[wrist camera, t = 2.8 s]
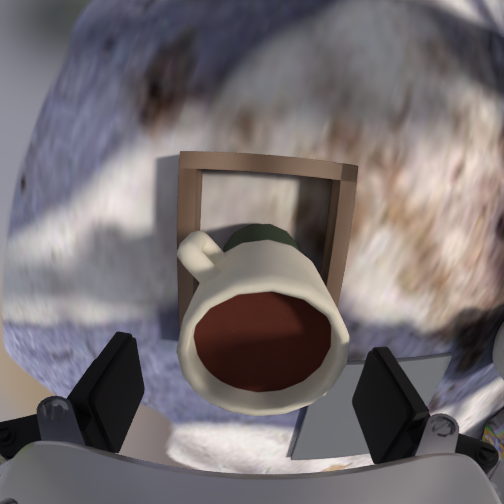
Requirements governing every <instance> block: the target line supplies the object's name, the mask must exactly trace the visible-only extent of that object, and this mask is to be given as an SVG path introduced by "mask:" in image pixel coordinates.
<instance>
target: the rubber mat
mask: <svg viewBox="0 0 504 504" xmlns="http://www.w3.org/2000/svg"><path fill="white" fill-rule="evenodd" d="M452 356H453V355H452V354H451V353H445V354H438V355H430V356H421V357H411V358H399V359H396V360H397V362H398V363H399V365H400V366H401V368H402V369H403V371H404V372H405V374H406V375H407V377H408V378H409V380H410V381H411V383H412V384H413V386H414V387H415V389H416V390H417V392H418V393H419V395H420V397H421V398H422V400H423V401H424V403H425V405H426V406H427V405H428V403H429V402H430V400H431V398H432V396H433V394H434V393H435V391H436V389H437V387H438V385H439V383H440V381H441V379H442V377H443V375H444V373H445V371H446V369H447V367H448V365H449V363H450V361H451V359H452ZM364 364H365V361H347V364H346V366H345V368H344V369H343V371H342V373H341V375H340V376H339V378H338V380H337V381H336V383H335V385H334V386H333V387H332V388H331V389H330V390H329V391H327V393H326V394H325V395H324V396H321V397H320V398H319V399H317V400H316V401H315V402H313V403H312V404H310V405H307V408H306V411H305V414H304V418H303V421H302V424H301V428H300V431H299V434H298V437H297V440H296V443H295V446H294V449H293V452H292V455H291V460H310V459H325V458H337V457H346V456H354V455H361V454H368V453H370V452H369V449H368V446H367V444H366V441H365V438H364V435H363V433H362V430H361V427H360V424H359V422H358V419H357V416H356V414H355V411H354V408H353V405H352V397H353V395H354V392H355V389H356V387H357V384H358V381H359V378H360V376H361V373H362V370H363V367H364Z"/></svg>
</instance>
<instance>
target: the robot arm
mask: <svg viewBox="0 0 504 504" xmlns="http://www.w3.org/2000/svg"><path fill="white" fill-rule="evenodd" d="M144 390H145V388H144V382H143V377H142V372H141V366H140V361H139V355H138V349H137V342H136V339H135V338H133V337H132V335H131V334H130V333H124V332H116V333H115V335H114V336H113V337H112V339H111V340H110V341H109V343H108V344H107V345H106V347H105V348H104V349H103V351H102V352H101V353H100V355H99V356H98V357H97V359H95V360H94V361H93V362H92V364H91V365H90V366H89V368H88V369H87V370H86V372H85V373H84V375H83V376H82V377H81V379H80V380H79V382H78V383H77V384H76V386H75V387H74V389H73V390H72V391H71V393H70V394H69V396H68V397H67V399H66V398H64V397H61V396H50V397H47V398H45V399H44V400H42V401H41V402H40V403H39V405H38V407H37V414H34V415H30V416H26V417H22V418H18V419H13V420H9V421H3V422H0V504H504V459H503V458H502V459H501V460H499V454H498V451H497V450H496V448H495V447H494V446H493V445H491V444H489V443H486V442H483V441H480V440H477V439H474V438H471V437H468V436H465V435H463V434H460V433H459V426H458V423H457V422H456V420H455V419H454V418H452V417H451V416H449V415H447V414H442V413H440V414H434V415H432V416H430V414H429V409H428V408H427V406H426V405H425V403H424V401H423V400H422V398H421V397H420V395H419V393H418V392H417V390H416V389H415V387H414V386H413V384H412V383H411V381H410V380H409V378H408V377H407V375H406V374H405V372H404V371H403V369H402V368H401V366H400V365H399V363H398V362H397V360H396V359H395V357H394V356H393V354H392V353H391V351H390V350H389V348H388V347H375V348H373V349H372V351H369V353H368V355H367V358H366V361H365V364H364V367H363V370H362V373H361V376H360V378H359V381H358V384H357V387H356V389H355V392H354V395H353V397H352V405H353V408H354V411H355V414H356V416H357V419H358V422H359V424H360V427H361V430H362V433H363V435H364V438H365V441H366V444H367V446H368V449H369V452H370V455H371V458H372V460H373V463H374V464H375V465H369V466H364V467H358V468H351V469H344V470H336V471H327V472H316V473H302V474H236V473H222V472H211V471H202V470H194V469H187V468H180V467H174V466H168V465H163V464H158V463H153V462H149V461H144V460H139V459H135V458H131V457H126V456H122V455H118V454H115V453H119V451H120V449H121V447H122V444H123V442H124V440H125V437H126V434H127V432H128V430H129V427H130V425H131V423H132V420H133V418H134V416H135V413H136V411H137V409H138V406H139V404H140V402H141V399H142V397H143V395H144Z"/></svg>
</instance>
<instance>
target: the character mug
mask: <svg viewBox="0 0 504 504" xmlns="http://www.w3.org/2000/svg"><path fill="white" fill-rule="evenodd" d="M177 256H178V258H179V259H180V261H181V262H182V264H183V265H184V266H185V268H186V269H187V270H188V271H189V272H190V273H191V274H192V275H193V276H194V277H195V278H196V279H197V281H198V282H199V283H200V284H199V286H198V288H197V290H196V292H195V294H194V296H193V298H192V300H191V302H190V305H189V307H188V309H187V311H186V313H185V315H184V317H183V322H182V327H181V332H180V337H179V342H178V347H177V354H178V359H179V363H180V367H181V371H182V374H183V376H184V377H185V379H186V380H187V382H188V383H189V384H190V386H191V387H192V389H193V390H194V391H195V392H196V393H198V394H199V395H200V396H201V397H202V398H203V399H205V400H207V401H208V402H210V403H211V404H213V405H215V406H218V407H220V408H222V409H225V410H227V411H230V412H235V413H240V414H246V415H253V416H263V415H275V414H285V413H288V412H291V411H293V410H296V409H299V408H302V407H304V406H307V405H310V404H312V403H313V402H315V401H316V400H317V399H319V398H320V397H321V396H324V395H325V394H326V393H327V391H329V390H330V389H331V388H332V387H333V386H334V385H335V383H336V381H337V380H338V378H339V376H340V375H341V373H342V371H343V369H344V368H345V366H346V364H347V358H348V347H349V334H348V332H347V329H346V327H345V325H344V322H343V320H342V318H341V316H340V314H339V311H338V309H337V307H336V305H335V303H334V301H333V299H332V297H331V295H330V293H329V292H328V290H327V288H326V286H325V284H324V282H323V280H322V279H321V277H320V275H319V273H318V271H317V269H316V268H315V266H314V264H313V262H312V261H311V260H309V259H308V258H307V257H306V256H304V255H303V254H302V253H301V252H299V249H298V245H297V244H296V242H295V241H294V240H293V239H292V237H291V236H290V235H289V234H288V233H287V231H285V230H282V229H280V228H278V227H276V226H273V225H271V224H256V225H249V226H247V227H245V228H243V229H242V230H240V231H238V232H236V233H234V234H233V236H232V237H231V238H230V240H229V241H228V242H227V243H226V245H225V246H224V250H223V251H222V250H221V249H220V248H219V247H218V245H217V244H216V243H215V242H214V241H213V240H212V239H211V238H210V237H209V236H208V235H207V234H206V233H204V232H203V231H195V232H192V233H190V234H189V235H188V236H187V237H186V238H185V239H184V240H183V241H182V242H181V243H180V246H179V248H178V251H177Z"/></svg>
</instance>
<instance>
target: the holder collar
mask: <svg viewBox="0 0 504 504" xmlns="http://www.w3.org/2000/svg"><path fill="white" fill-rule="evenodd" d="M203 169H219V170H239V171H254V172H268V173H280V174H291V175H301V176H310V177H319V178H327V179H332V184H331V194H330V203H329V212H328V221H327V229H326V237H325V244H324V251H323V259H322V265H321V272H320V277H321V279H322V280H323V282H324V284H325V286H326V288H327V290H328V292H329V293H330V295H331V297H332V299H333V301H334V303H335V305H336V307H338V302H339V297H340V292H341V287H342V282H343V276H344V271H345V265H346V259H347V253H348V246H349V240H350V233H351V226H352V219H353V211H354V203H355V194H356V185H357V174H358V166H356V165H350V164H343V163H336V162H329V161H322V160H313V159H305V158H296V157H286V156H275V155H262V154H247V153H229V152H197V151H180V160H179V181H178V214H177V251H178V248H179V246H180V243H181V242H182V241H183V240H184V239H185V238H186V237H187V236H188V235H189V234H190V233H192V232H195V231H200V218H201V192H202V172H203ZM177 269H178V303H179V324H180V332H181V327H182V322H183V317H184V315H185V313H186V311H187V309H188V307H189V305H190V302H191V300H192V298H193V296H194V294H195V292H196V290H197V288H198V286H199V282H198V281H197V279H196V278H195V277H194V276H193V275H192V274H191V273H190V272H189V271H188V270H187V269H186V268H185V266H184V265H183V264H182V262H181V261H180V259H179V258H178V256H177Z"/></svg>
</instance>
